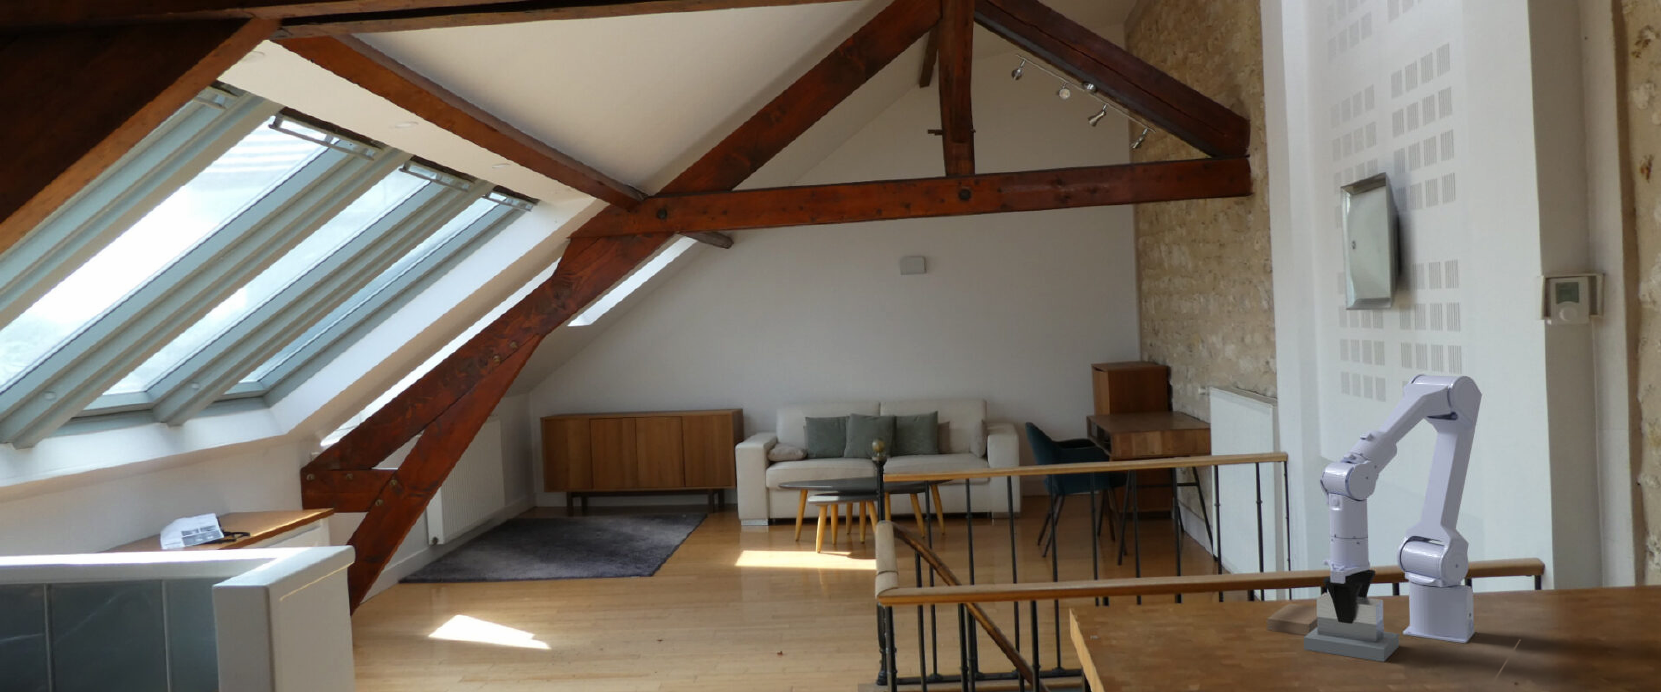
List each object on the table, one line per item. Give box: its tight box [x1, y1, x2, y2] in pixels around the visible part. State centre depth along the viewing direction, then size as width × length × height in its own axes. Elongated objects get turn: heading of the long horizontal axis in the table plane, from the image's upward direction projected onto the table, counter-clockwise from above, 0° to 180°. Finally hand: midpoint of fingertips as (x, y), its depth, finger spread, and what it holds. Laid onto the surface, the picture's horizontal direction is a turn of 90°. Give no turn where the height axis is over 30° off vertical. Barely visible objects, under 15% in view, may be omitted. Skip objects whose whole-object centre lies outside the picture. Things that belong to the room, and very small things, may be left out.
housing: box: [1316, 592, 1385, 643], centre depth 181 cm, size 4×9×6 cm, turn 50°
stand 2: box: [1303, 627, 1400, 662], centre depth 181 cm, size 12×10×2 cm
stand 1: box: [1266, 603, 1317, 637], centre depth 195 cm, size 7×12×2 cm, turn 140°
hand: (1350, 617), depth 181 cm, fingers open, 6 cm apart
